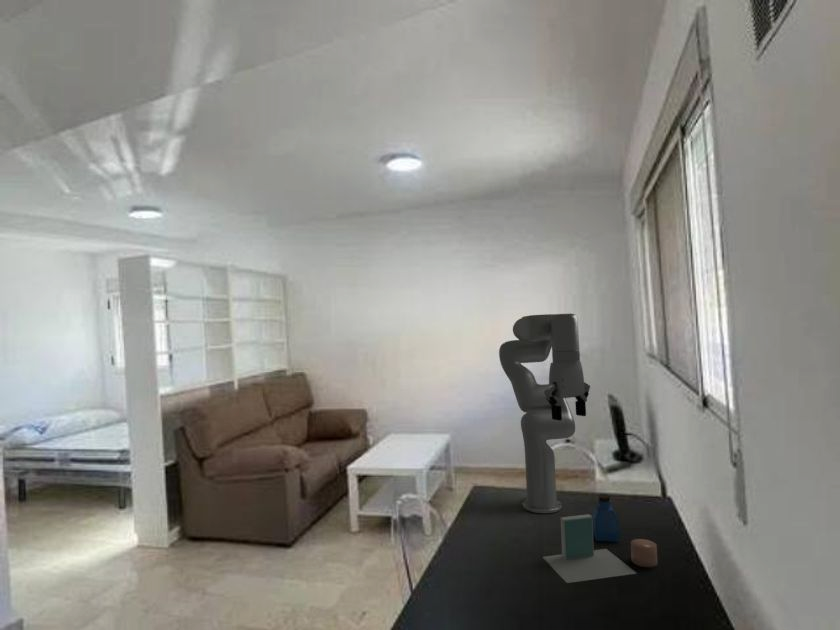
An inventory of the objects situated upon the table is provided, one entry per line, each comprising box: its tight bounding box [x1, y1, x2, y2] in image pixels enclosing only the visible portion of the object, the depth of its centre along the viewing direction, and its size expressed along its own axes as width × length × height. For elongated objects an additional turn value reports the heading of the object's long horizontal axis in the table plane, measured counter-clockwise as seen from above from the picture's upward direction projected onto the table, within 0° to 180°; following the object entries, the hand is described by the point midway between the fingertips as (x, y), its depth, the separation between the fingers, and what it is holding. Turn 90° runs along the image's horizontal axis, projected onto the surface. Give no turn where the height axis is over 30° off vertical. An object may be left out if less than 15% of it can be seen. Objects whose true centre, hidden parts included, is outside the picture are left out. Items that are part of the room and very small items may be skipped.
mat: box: [542, 548, 638, 584], centre depth 130 cm, size 14×18×1 cm
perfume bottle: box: [591, 493, 620, 543], centre depth 147 cm, size 6×6×12 cm
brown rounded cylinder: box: [630, 538, 658, 568], centre depth 131 cm, size 6×6×5 cm
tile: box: [560, 513, 595, 559], centre depth 135 cm, size 2×8×10 cm, turn 100°
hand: (569, 417), depth 148 cm, fingers open, 9 cm apart
